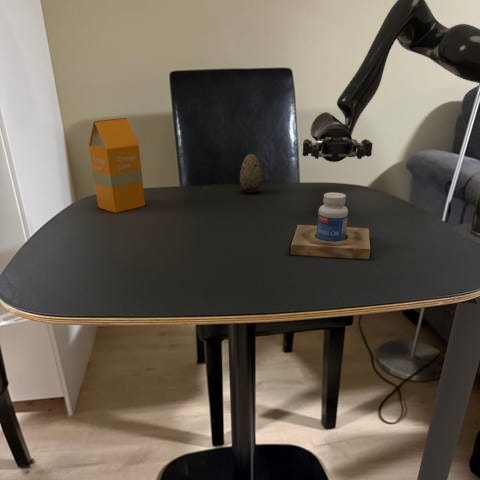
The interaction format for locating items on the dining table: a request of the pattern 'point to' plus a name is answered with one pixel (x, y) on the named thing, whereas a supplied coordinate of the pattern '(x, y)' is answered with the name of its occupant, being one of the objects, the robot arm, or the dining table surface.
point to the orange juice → (116, 165)
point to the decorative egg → (250, 174)
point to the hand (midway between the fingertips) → (338, 153)
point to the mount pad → (331, 243)
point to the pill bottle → (332, 218)
